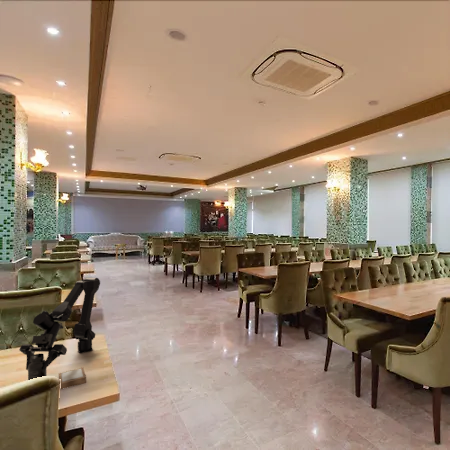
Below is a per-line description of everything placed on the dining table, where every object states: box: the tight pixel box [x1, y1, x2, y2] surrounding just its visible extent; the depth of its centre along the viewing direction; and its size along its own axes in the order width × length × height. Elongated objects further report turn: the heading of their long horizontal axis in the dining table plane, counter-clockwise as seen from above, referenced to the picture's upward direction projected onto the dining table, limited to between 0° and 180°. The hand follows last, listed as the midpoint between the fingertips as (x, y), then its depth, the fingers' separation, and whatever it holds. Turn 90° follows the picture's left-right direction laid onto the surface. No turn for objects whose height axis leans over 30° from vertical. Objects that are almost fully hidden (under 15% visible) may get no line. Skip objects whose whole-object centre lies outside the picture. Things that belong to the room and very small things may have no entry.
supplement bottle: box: [27, 353, 48, 381], centre depth 128 cm, size 7×7×12 cm
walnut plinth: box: [58, 367, 87, 390], centre depth 130 cm, size 10×10×3 cm
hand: (35, 369), depth 126 cm, fingers closed on supplement bottle, 7 cm apart
